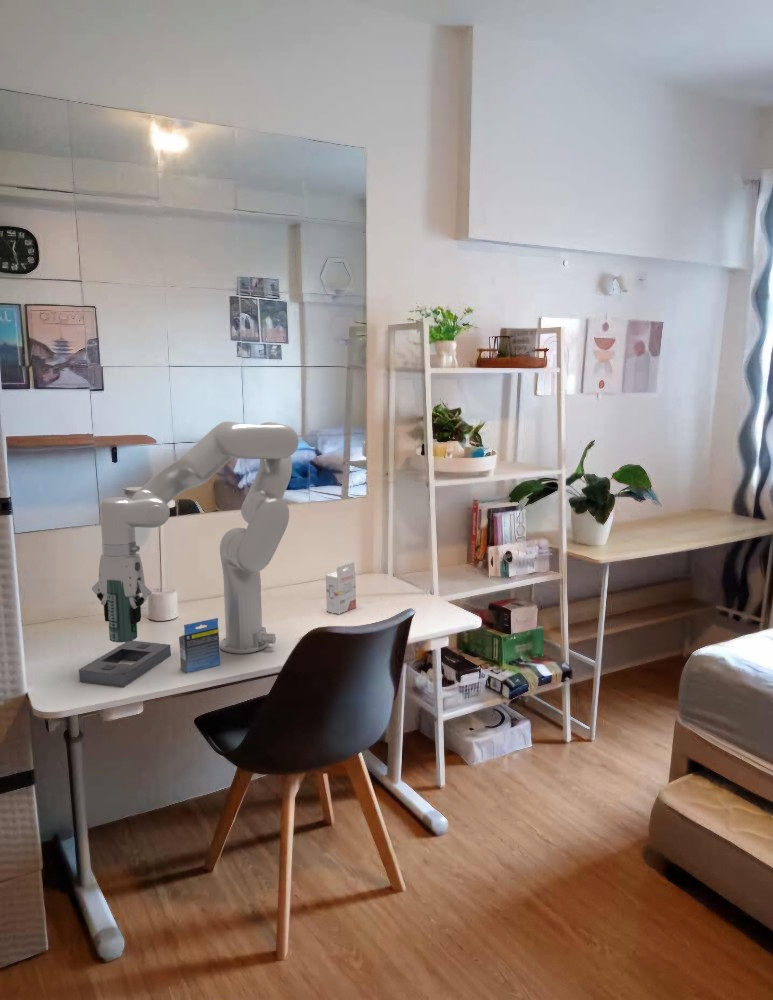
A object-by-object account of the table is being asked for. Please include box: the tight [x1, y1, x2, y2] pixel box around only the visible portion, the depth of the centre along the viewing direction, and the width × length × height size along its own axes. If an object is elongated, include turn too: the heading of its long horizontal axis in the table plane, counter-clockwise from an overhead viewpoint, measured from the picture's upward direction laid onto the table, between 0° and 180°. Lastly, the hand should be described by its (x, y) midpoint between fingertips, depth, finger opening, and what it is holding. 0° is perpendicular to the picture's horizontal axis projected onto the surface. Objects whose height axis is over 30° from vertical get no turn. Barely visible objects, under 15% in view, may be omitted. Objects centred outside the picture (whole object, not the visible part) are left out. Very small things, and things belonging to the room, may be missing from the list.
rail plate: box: [78, 640, 172, 688], centre depth 185 cm, size 12×20×3 cm, turn 164°
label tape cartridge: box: [178, 617, 221, 674], centre depth 185 cm, size 9×4×12 cm, turn 127°
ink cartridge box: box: [325, 561, 357, 615], centre depth 228 cm, size 9×5×15 cm, turn 143°
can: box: [107, 580, 138, 644], centre depth 182 cm, size 6×6×15 cm
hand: (122, 620), depth 183 cm, fingers closed on can, 6 cm apart
